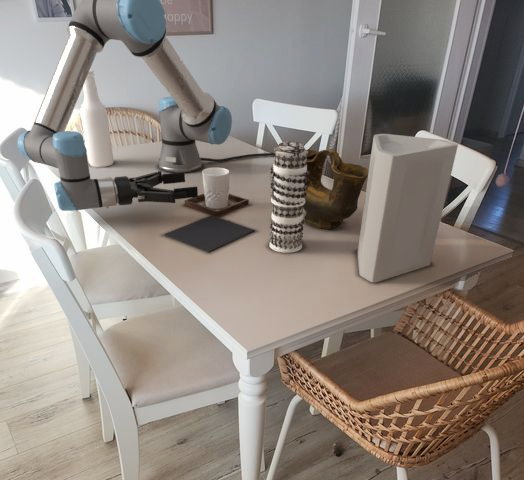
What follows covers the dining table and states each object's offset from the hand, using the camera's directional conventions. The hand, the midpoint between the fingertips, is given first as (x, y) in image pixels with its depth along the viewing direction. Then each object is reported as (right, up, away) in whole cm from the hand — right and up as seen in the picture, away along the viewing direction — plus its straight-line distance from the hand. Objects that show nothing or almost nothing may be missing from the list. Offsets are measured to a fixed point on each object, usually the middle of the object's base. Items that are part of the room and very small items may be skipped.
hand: (190, 184), depth 148 cm
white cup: (+7, -4, +7) cm, 11 cm away
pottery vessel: (+38, -11, -2) cm, 39 cm away
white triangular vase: (+50, -26, -22) cm, 60 cm away
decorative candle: (+27, -21, -16) cm, 37 cm away
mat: (+7, -16, -10) cm, 20 cm away
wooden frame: (+7, -4, +7) cm, 11 cm away
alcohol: (-37, +19, +38) cm, 57 cm away
